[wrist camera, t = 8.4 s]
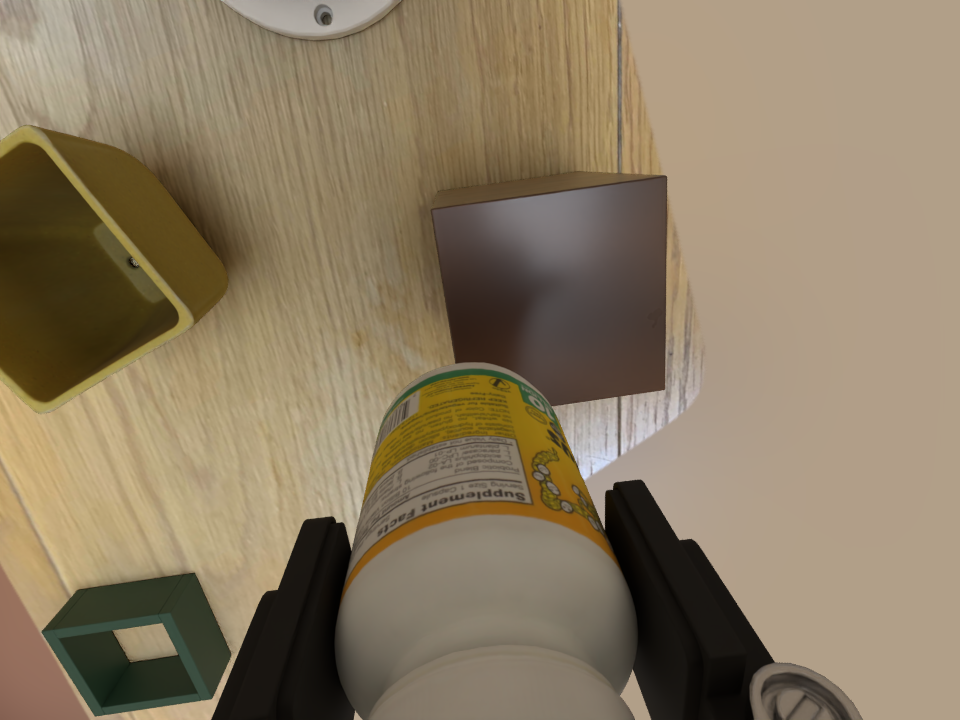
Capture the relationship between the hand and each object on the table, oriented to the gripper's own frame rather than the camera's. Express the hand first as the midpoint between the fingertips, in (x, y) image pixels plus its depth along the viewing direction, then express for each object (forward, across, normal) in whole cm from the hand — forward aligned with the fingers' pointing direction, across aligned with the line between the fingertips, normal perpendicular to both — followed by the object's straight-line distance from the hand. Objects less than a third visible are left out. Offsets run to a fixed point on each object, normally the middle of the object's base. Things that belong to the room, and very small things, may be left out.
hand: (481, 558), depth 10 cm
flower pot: (+21, +16, -4) cm, 27 cm away
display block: (+21, -4, -2) cm, 21 cm away
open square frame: (+21, +25, +23) cm, 40 cm away
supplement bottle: (+5, 0, 0) cm, 5 cm away
